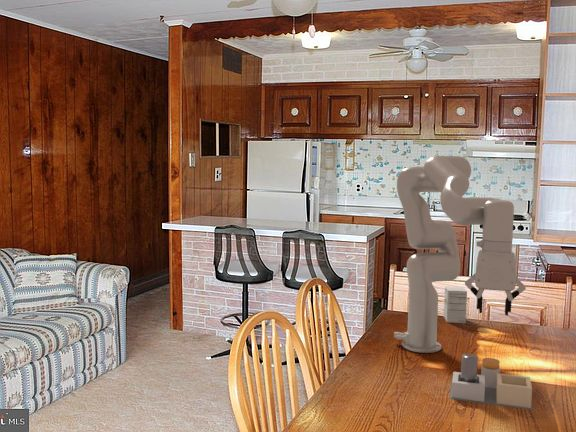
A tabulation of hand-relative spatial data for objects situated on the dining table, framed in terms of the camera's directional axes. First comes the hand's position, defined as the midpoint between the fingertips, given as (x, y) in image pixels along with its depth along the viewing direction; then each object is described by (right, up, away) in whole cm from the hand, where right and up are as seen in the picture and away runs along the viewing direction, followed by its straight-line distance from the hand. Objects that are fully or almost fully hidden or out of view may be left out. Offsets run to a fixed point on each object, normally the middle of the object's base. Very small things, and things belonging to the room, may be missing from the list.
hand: (493, 312), depth 159 cm
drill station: (-2, -22, -3) cm, 22 cm away
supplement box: (+9, -15, +71) cm, 73 cm away
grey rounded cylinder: (-8, -20, -4) cm, 22 cm away
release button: (0, -19, +2) cm, 19 cm away
